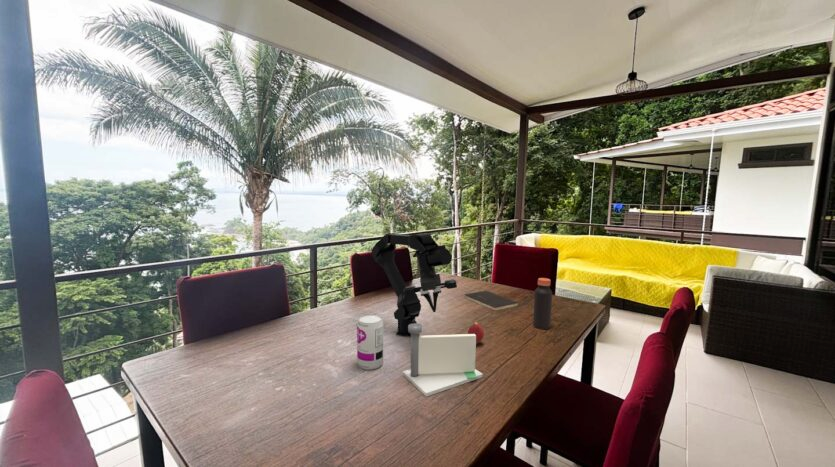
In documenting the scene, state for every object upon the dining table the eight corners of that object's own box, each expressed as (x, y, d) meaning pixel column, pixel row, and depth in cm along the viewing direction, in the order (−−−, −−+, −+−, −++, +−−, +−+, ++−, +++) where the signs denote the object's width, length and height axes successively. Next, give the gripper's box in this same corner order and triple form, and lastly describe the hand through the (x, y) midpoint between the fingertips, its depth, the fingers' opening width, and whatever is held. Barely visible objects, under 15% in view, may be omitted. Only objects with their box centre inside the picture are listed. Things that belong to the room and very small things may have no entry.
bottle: (547, 323, 145) (550, 277, 143) (552, 330, 139) (555, 281, 136) (531, 322, 146) (533, 277, 144) (535, 329, 139) (537, 281, 137)
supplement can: (362, 373, 104) (361, 325, 102) (354, 361, 111) (353, 316, 109) (387, 367, 108) (387, 321, 106) (377, 356, 115) (377, 312, 113)
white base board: (428, 398, 91) (428, 394, 91) (402, 374, 103) (402, 370, 103) (485, 378, 102) (486, 374, 102) (457, 358, 114) (457, 354, 114)
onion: (483, 347, 122) (484, 326, 121) (467, 346, 123) (467, 324, 122) (483, 341, 128) (484, 320, 127) (468, 339, 129) (468, 318, 128)
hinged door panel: (408, 378, 99) (408, 328, 97) (407, 371, 103) (407, 323, 101) (475, 375, 101) (477, 326, 99) (472, 368, 105) (474, 321, 103)
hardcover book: (494, 312, 161) (494, 307, 160) (463, 298, 180) (464, 294, 180) (518, 306, 169) (519, 302, 168) (487, 294, 188) (487, 290, 188)
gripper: (398, 273, 115) (405, 320, 114) (453, 264, 114) (461, 311, 113) (402, 272, 127) (409, 314, 125) (452, 263, 125) (460, 306, 124)
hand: (434, 311), depth 121 cm, fingers closed
